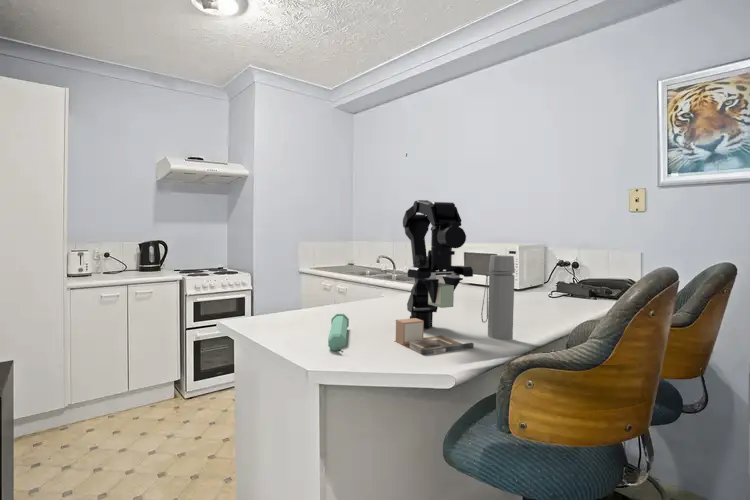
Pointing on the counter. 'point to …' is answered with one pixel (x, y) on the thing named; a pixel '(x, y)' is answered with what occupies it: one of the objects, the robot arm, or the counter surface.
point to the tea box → (443, 296)
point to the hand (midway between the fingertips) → (440, 302)
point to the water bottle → (500, 297)
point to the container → (338, 332)
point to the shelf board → (436, 345)
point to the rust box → (409, 330)
